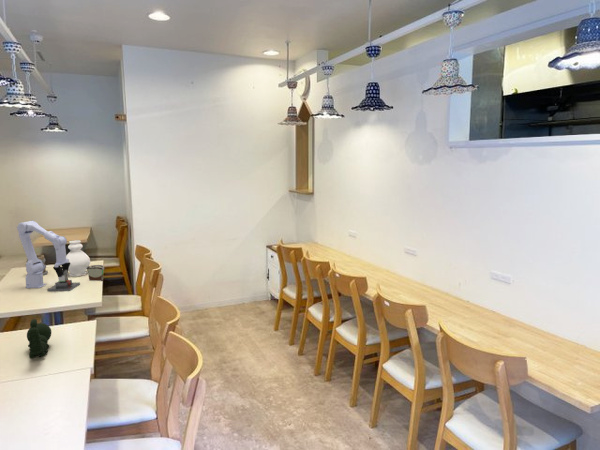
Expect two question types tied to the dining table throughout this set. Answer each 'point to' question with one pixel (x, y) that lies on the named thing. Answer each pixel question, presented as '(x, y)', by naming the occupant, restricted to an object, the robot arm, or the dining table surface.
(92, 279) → the food container
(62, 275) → the block
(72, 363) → the dining table surface
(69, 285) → the base
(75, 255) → the decorative vase
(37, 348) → the dark green bumpy clump
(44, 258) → the tankard
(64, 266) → the robot arm
